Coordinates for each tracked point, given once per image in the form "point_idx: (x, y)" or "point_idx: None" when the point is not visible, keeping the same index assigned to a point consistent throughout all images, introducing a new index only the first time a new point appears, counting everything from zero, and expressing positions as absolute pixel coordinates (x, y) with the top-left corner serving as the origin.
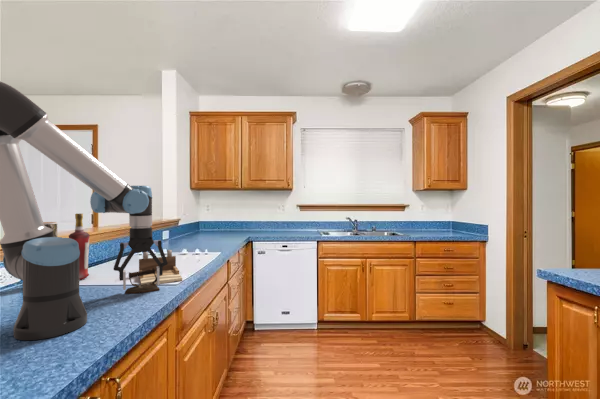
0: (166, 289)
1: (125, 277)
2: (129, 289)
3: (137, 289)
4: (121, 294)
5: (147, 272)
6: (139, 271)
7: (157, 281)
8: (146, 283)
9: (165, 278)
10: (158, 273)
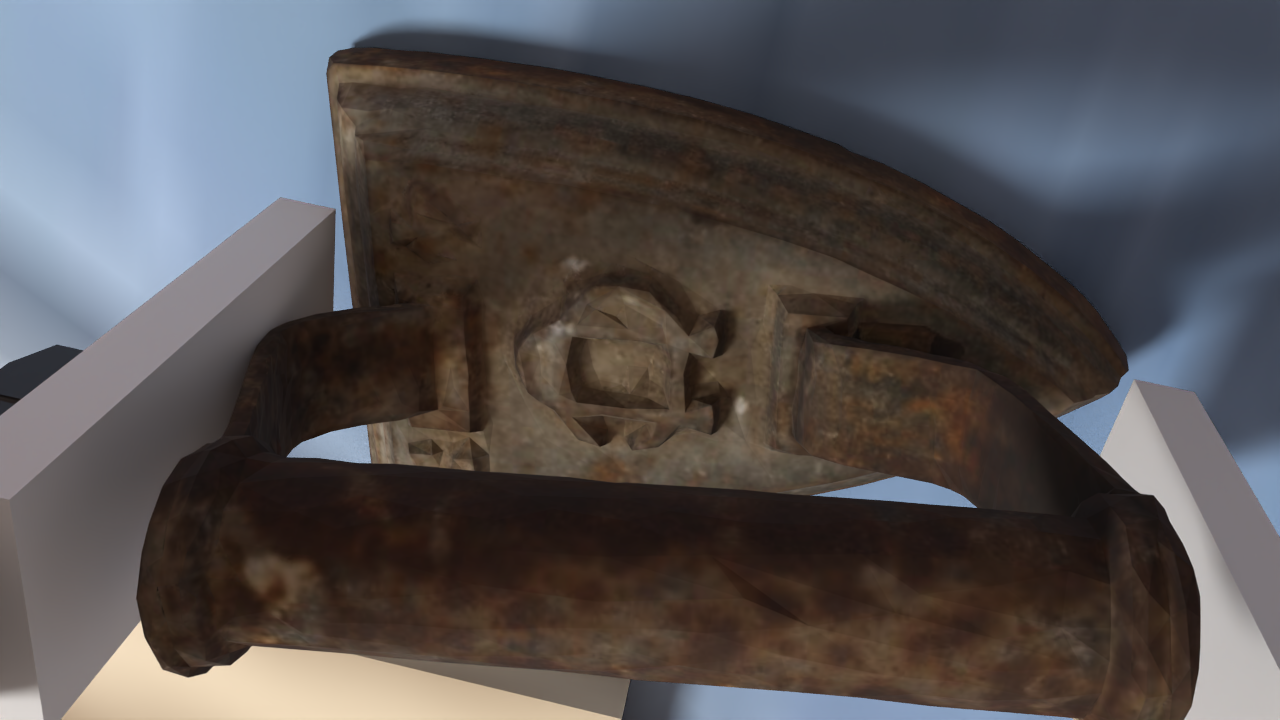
0: (178, 17)
1: (1259, 614)
2: (1041, 349)
3: (863, 231)
4: (1201, 352)
5: (463, 492)
6: (748, 643)
7: (284, 251)
8: (522, 673)
9: (123, 701)
10: (111, 365)
